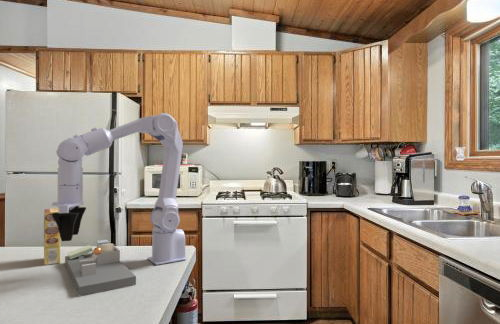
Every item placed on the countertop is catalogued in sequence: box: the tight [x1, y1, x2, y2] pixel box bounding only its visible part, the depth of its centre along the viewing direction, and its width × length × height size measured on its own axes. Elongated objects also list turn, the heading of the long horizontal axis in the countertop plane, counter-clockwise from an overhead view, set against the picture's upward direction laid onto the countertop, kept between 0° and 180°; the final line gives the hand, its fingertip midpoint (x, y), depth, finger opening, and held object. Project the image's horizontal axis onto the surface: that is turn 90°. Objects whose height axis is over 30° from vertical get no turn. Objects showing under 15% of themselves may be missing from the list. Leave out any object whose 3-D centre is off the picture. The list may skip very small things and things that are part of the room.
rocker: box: [67, 244, 94, 259], centre depth 93 cm, size 6×4×1 cm
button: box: [99, 242, 115, 253], centre depth 89 cm, size 4×4×3 cm
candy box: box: [43, 208, 61, 266], centre depth 96 cm, size 9×4×15 cm, turn 33°
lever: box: [87, 246, 102, 264], centre depth 80 cm, size 2×3×6 cm
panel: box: [64, 246, 137, 297], centre depth 85 cm, size 12×30×5 cm, turn 35°
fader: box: [96, 239, 110, 247], centre depth 96 cm, size 3×4×4 cm
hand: (70, 237), depth 83 cm, fingers open, 7 cm apart
